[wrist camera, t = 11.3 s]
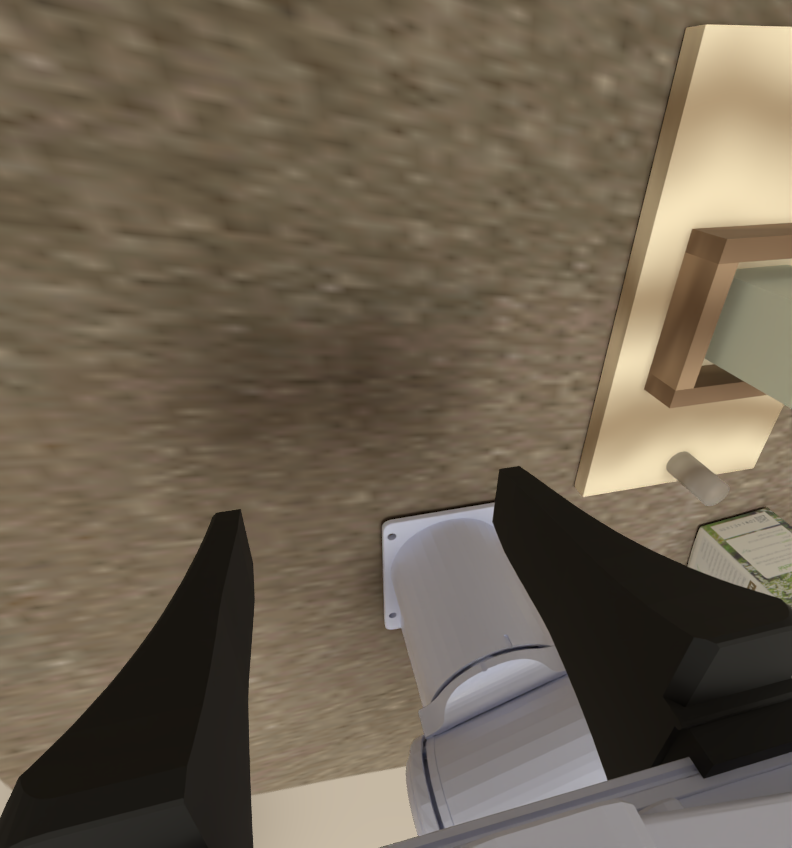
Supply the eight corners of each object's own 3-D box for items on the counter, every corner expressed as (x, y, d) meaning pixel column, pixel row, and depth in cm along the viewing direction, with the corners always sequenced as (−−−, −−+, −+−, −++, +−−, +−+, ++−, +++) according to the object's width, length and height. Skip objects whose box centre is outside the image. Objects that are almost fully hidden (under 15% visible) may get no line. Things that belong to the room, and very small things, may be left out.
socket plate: (740, 458, 33) (794, 498, 30) (574, 486, 31) (612, 532, 27) (935, 34, 21) (1061, 22, 18) (686, 27, 19) (777, 12, 15)
